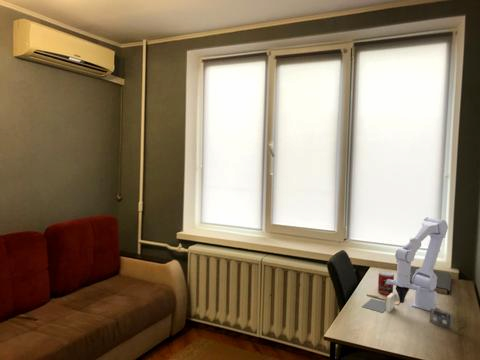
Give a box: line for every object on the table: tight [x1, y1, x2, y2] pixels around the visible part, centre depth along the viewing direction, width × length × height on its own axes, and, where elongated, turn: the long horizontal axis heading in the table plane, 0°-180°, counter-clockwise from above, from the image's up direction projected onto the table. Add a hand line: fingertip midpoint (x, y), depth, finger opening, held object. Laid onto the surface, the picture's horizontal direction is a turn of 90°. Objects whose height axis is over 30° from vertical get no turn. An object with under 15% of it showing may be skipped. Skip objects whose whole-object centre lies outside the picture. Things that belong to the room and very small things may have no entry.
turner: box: [366, 293, 401, 306], centre depth 192 cm, size 16×5×1 cm, turn 51°
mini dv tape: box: [429, 309, 453, 329], centre depth 164 cm, size 8×2×6 cm, turn 41°
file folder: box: [410, 266, 452, 295], centre depth 222 cm, size 33×4×24 cm
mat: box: [361, 298, 387, 314], centre depth 183 cm, size 10×14×1 cm
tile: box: [385, 292, 396, 313], centre depth 179 cm, size 2×7×7 cm, turn 141°
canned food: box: [377, 270, 395, 296], centre depth 201 cm, size 8×8×11 cm
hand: (401, 302), depth 176 cm, fingers closed
